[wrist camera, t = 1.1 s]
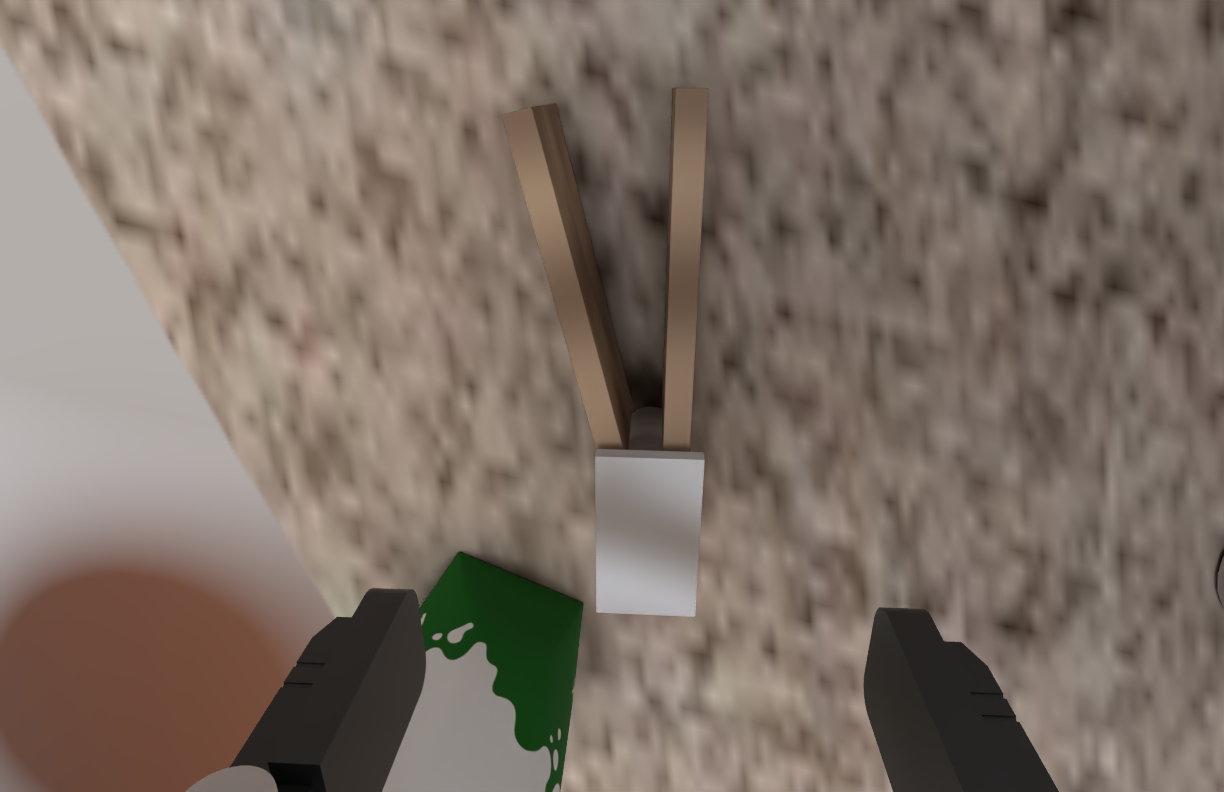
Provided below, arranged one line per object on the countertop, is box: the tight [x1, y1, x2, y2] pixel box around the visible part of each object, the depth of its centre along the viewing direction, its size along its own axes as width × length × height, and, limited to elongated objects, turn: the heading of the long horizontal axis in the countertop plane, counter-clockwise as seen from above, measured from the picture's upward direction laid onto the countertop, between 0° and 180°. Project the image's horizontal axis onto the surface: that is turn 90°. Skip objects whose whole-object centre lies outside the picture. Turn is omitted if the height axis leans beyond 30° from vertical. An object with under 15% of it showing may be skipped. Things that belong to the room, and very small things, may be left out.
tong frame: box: [595, 88, 709, 617], centre depth 28 cm, size 20×4×7 cm, turn 0°
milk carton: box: [382, 552, 583, 792], centre depth 29 cm, size 9×9×20 cm
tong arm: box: [501, 104, 663, 451], centre depth 28 cm, size 16×3×6 cm, turn 14°
